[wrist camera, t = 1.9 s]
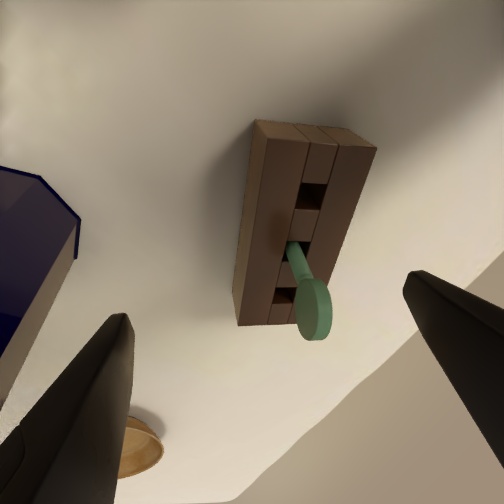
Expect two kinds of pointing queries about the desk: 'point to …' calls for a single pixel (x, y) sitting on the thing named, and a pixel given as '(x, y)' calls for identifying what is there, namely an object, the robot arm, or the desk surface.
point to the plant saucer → (139, 449)
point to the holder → (294, 212)
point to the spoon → (309, 297)
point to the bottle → (30, 263)
